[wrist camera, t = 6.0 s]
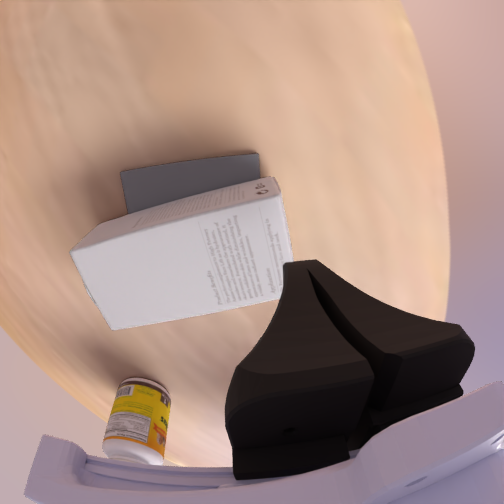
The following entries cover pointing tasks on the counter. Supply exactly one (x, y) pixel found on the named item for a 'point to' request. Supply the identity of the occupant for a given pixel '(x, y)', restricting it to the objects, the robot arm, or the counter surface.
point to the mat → (185, 179)
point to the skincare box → (188, 256)
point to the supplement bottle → (138, 423)
